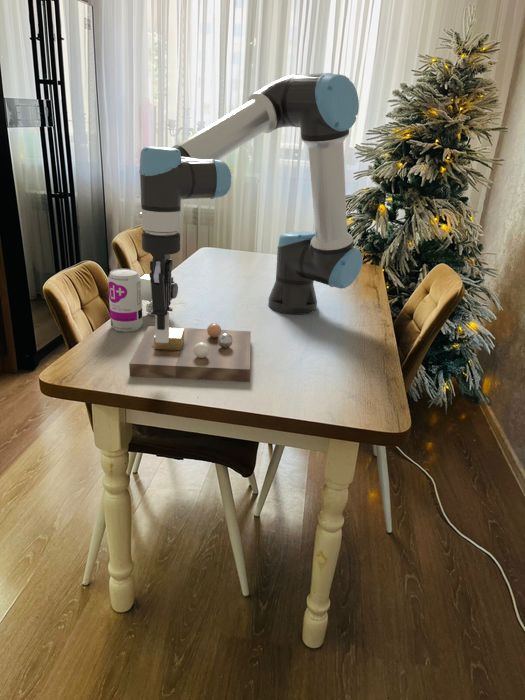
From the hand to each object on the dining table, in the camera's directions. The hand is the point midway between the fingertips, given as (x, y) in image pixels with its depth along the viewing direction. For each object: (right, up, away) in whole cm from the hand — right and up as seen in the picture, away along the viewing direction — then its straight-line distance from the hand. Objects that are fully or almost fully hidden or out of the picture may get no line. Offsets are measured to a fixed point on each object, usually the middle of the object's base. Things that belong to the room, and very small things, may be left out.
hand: (162, 341), depth 109 cm
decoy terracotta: (+10, +3, +15) cm, 18 cm away
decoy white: (+8, -2, +4) cm, 9 cm away
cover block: (0, -1, +10) cm, 10 cm away
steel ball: (+13, 0, +10) cm, 16 cm away
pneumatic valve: (-9, +8, +36) cm, 38 cm away
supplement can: (-15, +4, +26) cm, 30 cm away
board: (+6, -4, +11) cm, 13 cm away
